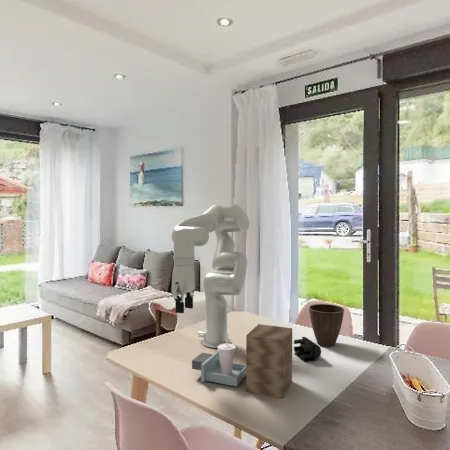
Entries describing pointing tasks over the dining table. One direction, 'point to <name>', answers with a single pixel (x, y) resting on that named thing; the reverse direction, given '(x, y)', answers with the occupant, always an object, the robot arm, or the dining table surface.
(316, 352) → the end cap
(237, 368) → the tray
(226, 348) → the smoothie
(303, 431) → the dining table surface
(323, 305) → the plant pot
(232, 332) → the dining table surface
